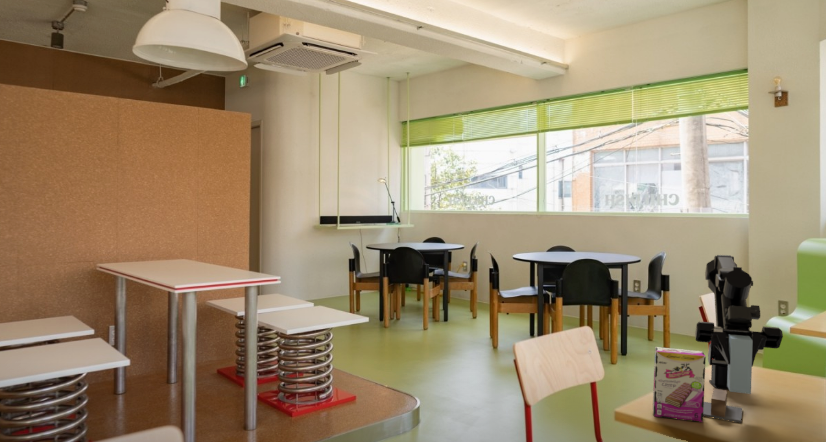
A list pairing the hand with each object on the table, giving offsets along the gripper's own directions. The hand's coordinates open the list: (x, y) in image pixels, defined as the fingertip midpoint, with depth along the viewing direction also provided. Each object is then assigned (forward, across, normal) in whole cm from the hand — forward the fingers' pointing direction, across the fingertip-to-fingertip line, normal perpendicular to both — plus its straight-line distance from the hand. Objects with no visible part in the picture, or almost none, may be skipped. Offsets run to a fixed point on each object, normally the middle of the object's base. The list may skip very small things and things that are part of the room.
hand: (740, 364), depth 140 cm
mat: (+8, -4, +11) cm, 14 cm away
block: (+4, 0, +6) cm, 7 cm away
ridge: (+8, -4, +11) cm, 14 cm away
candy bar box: (+13, -14, +6) cm, 20 cm away
